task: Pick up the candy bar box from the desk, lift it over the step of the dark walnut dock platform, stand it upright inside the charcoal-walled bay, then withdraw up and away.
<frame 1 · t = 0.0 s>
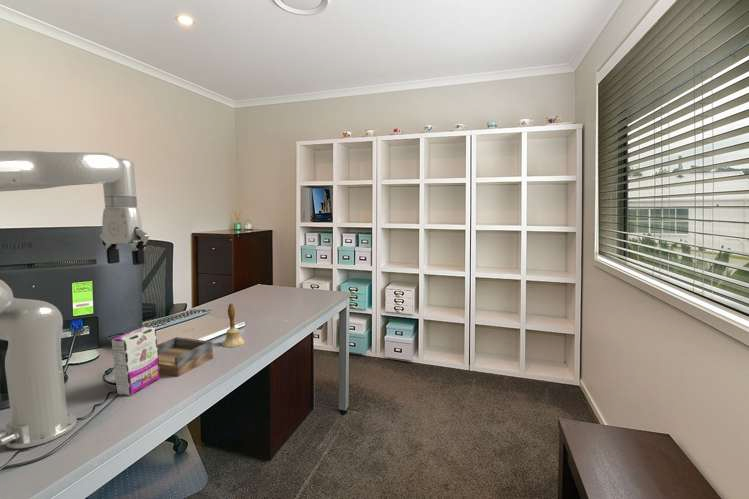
hand: (126, 263, 105), 37 cm above the table, tool pointing down, fingers open, 9 cm apart
hand bell: (233, 344, 143), on the table
dock: (177, 363, 124), on the table
candy bar box: (139, 386, 108), on the table
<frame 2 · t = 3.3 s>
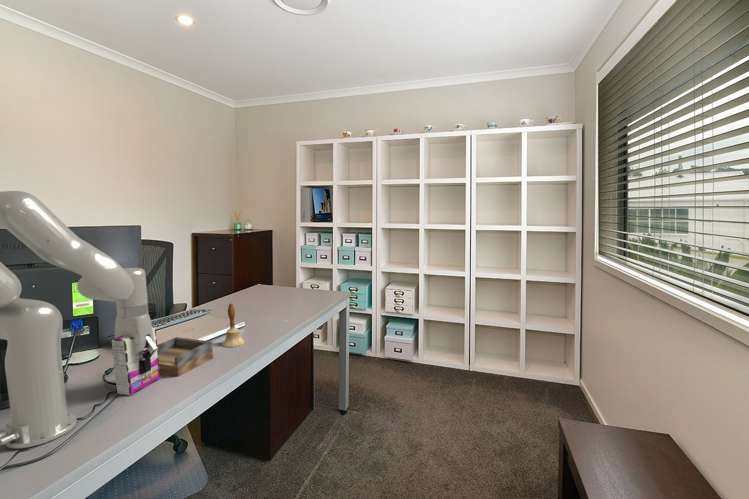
hand: (137, 370, 108), 5 cm above the table, tool pointing down, fingers closed on candy bar box, 5 cm apart
candy bar box: (139, 386, 108), on the table, touching gripper
everything else where it was.
when the fingers open (9 cm above the table, at t = 9.6 s): candy bar box drops 1 cm, resting on dock.
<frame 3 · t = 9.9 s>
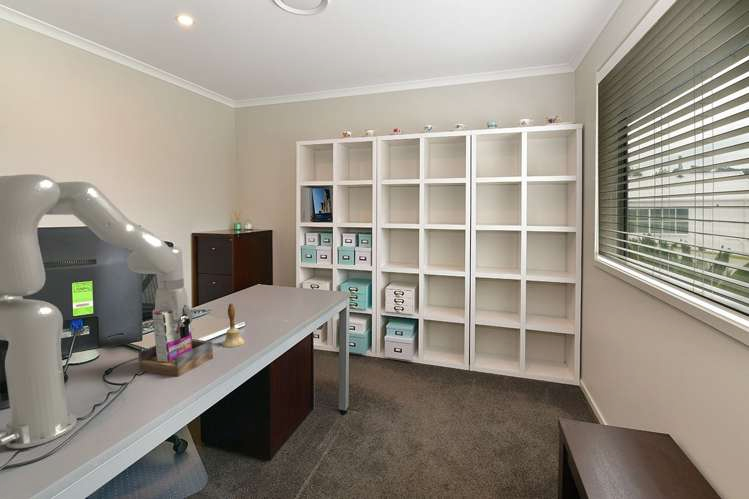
hand: (174, 335, 123), 10 cm above the table, tool pointing down, fingers open, 8 cm apart
candy bar box: (175, 356, 123), point 3 cm above the table, touching dock
everything else where it was.
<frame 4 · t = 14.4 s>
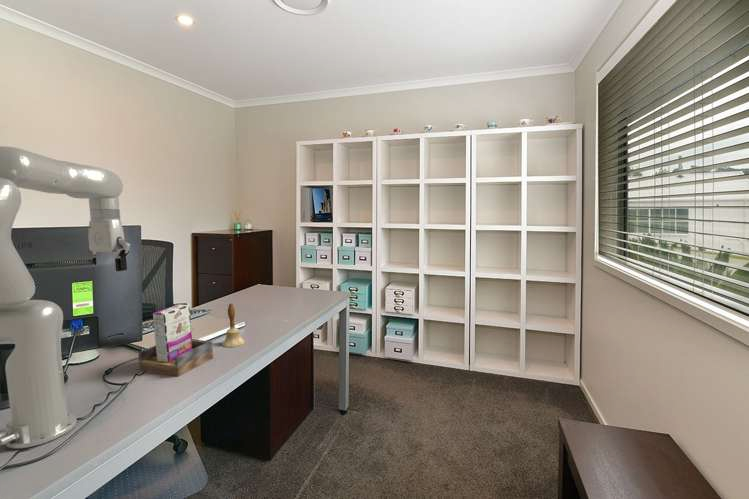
hand: (110, 270, 115), 33 cm above the table, tool pointing down, fingers open, 9 cm apart
nothing on the table moved.
at the end: candy bar box 0.3 cm off-centre on the dock, point 2.8 cm above the dock's base; candy bar box tilted 0°; the gripper is holding nothing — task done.
